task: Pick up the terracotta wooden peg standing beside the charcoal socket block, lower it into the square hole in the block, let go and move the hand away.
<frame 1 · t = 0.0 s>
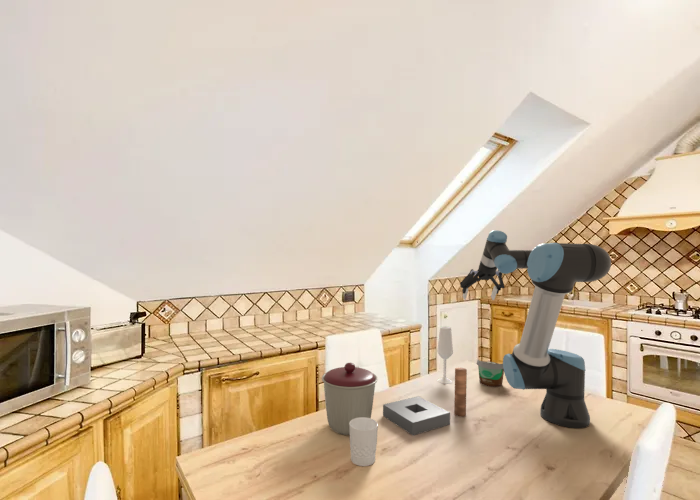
hand: (478, 297, 181), 36 cm above the table, tool tilted 35°, fingers open, 13 cm apart
white cup: (362, 460, 105), on the table
champagne flute: (444, 381, 170), on the table
peg: (460, 414, 135), on the table
canister: (348, 428, 124), on the table
food container: (489, 385, 166), on the table
socket block: (415, 420, 130), on the table
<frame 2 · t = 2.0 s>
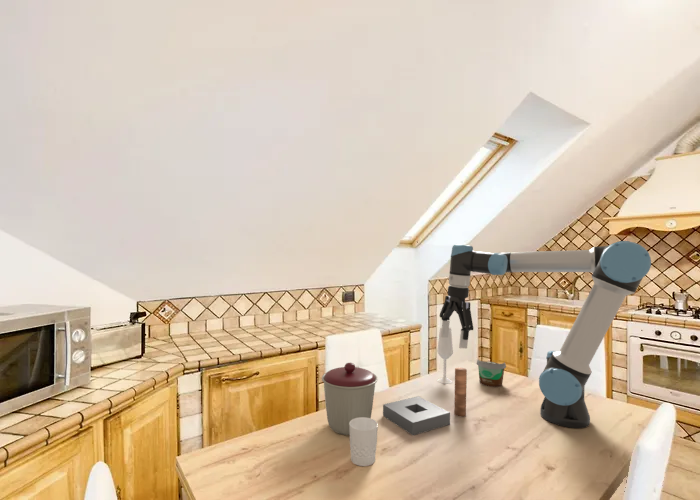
hand: (453, 342, 142), 24 cm above the table, tool pointing down, fingers open, 13 cm apart
nothing on the table moved.
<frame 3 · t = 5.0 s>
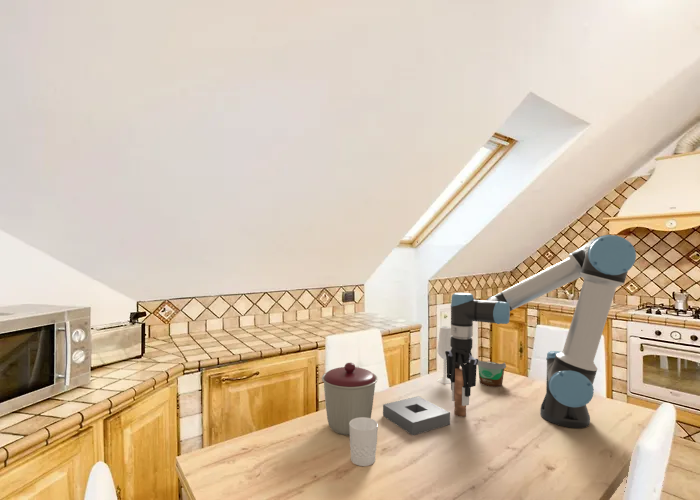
hand: (460, 402, 135), 4 cm above the table, tool pointing down, fingers closed on peg, 4 cm apart
peg: (460, 414, 135), on the table, touching gripper
everything else where it was.
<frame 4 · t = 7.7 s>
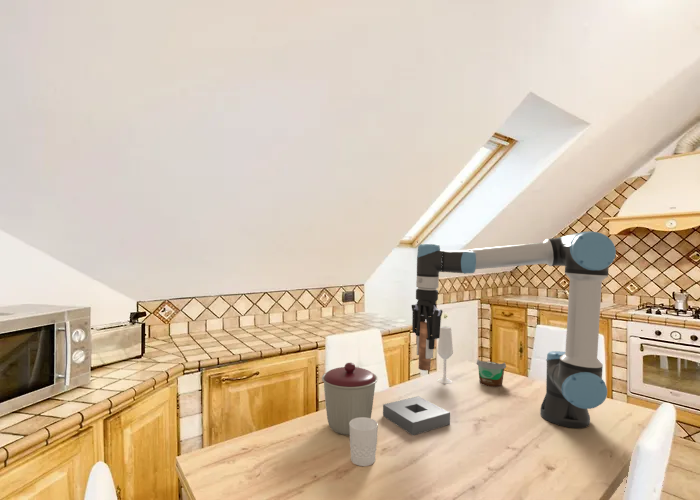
hand: (424, 356, 132), 22 cm above the table, tool pointing down, fingers closed on peg, 4 cm apart
peg: (424, 368, 132), point 17 cm above the table, touching gripper
everything else where it was.
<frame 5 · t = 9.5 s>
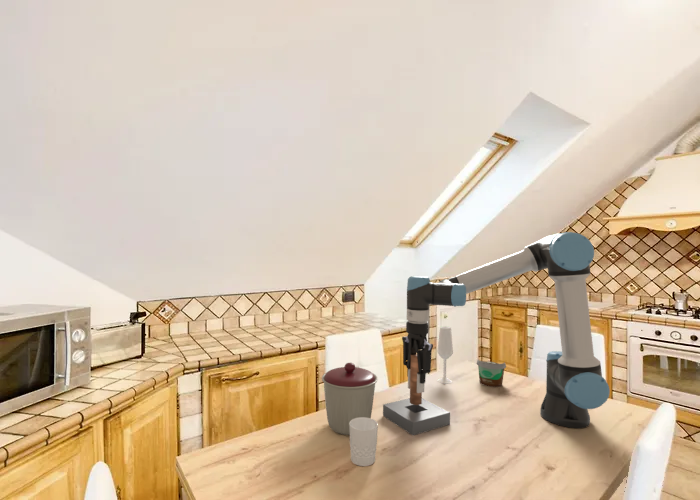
hand: (415, 389, 130), 10 cm above the table, tool pointing down, fingers closed on peg, 4 cm apart
peg: (415, 402, 130), point 6 cm above the table, touching gripper
everything else where it was.
when the fingers open (6 cm above the table, at t = 10.8 s): peg drops 1 cm, resting in socket block.
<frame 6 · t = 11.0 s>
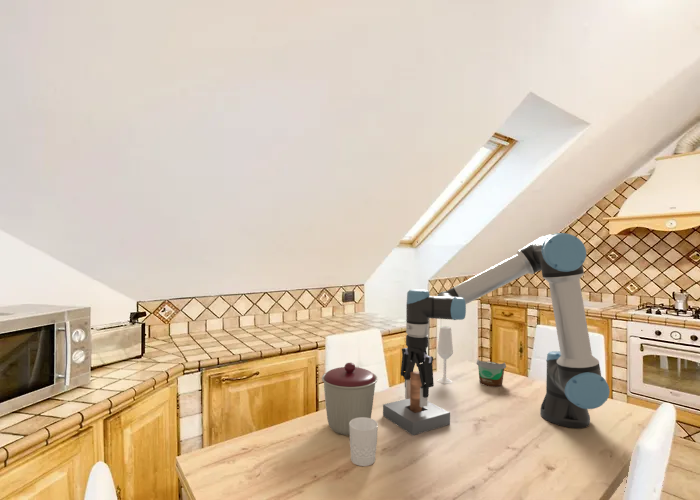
hand: (416, 402, 130), 6 cm above the table, tool pointing down, fingers open, 7 cm apart
peg: (415, 419, 130), resting in socket block
everything else where it was.
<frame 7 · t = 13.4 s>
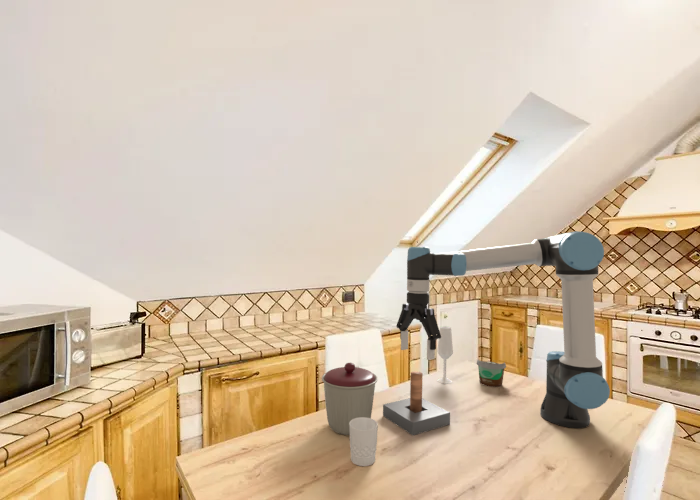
hand: (417, 354, 130), 23 cm above the table, tool pointing down, fingers open, 13 cm apart
nothing on the table moved.
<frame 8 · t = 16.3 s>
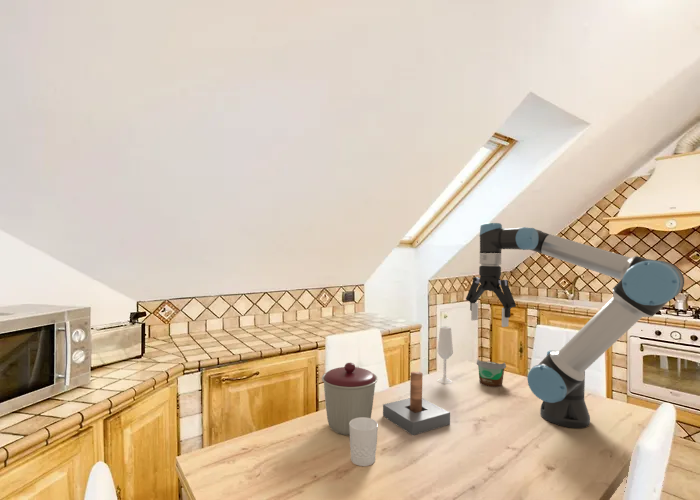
hand: (489, 323, 140), 32 cm above the table, tool pointing down, fingers open, 13 cm apart
nothing on the table moved.
at the end: peg 0.0 cm off-centre on the socket block, point 0.0 cm above the socket block's base; peg tilted 0°; the gripper is holding nothing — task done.
